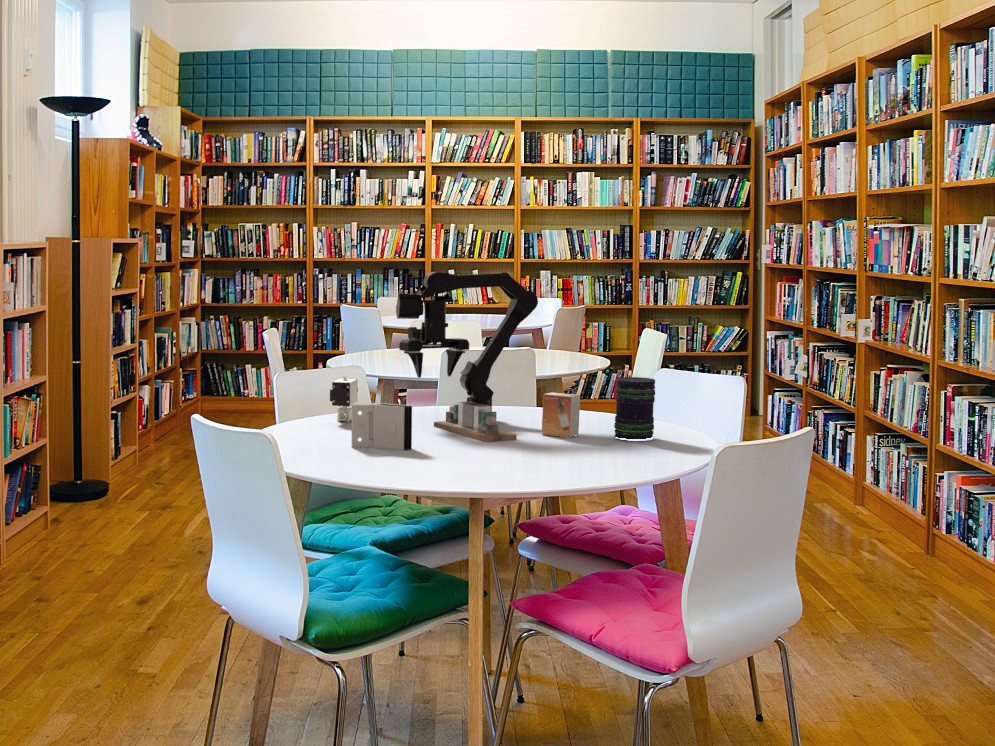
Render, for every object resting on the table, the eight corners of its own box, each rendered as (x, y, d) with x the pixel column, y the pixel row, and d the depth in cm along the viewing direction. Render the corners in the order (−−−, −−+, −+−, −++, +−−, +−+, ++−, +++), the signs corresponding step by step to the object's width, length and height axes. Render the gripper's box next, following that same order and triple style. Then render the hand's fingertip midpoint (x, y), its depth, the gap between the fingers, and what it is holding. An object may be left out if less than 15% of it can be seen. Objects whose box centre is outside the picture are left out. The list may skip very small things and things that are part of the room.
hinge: (350, 448, 247) (350, 404, 246) (357, 444, 252) (357, 401, 251) (408, 450, 245) (409, 407, 244) (414, 447, 250) (415, 404, 249)
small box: (541, 435, 270) (542, 394, 269) (550, 432, 275) (551, 391, 274) (570, 438, 266) (571, 396, 265) (579, 435, 271) (580, 394, 270)
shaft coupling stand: (463, 424, 285) (463, 400, 284) (516, 439, 263) (517, 413, 262) (433, 426, 280) (434, 402, 280) (485, 441, 258) (485, 416, 258)
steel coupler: (491, 429, 268) (491, 406, 268) (477, 431, 266) (477, 407, 266) (470, 424, 277) (471, 401, 276) (457, 425, 275) (457, 402, 274)
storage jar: (652, 442, 262) (654, 382, 260) (612, 440, 264) (614, 380, 262) (654, 436, 272) (656, 378, 270) (615, 434, 274) (617, 376, 272)
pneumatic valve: (358, 418, 292) (358, 374, 291) (348, 424, 281) (348, 379, 279) (338, 417, 293) (338, 373, 291) (327, 423, 281) (327, 378, 280)
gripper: (450, 316, 298) (449, 372, 300) (390, 317, 288) (389, 375, 290) (470, 319, 289) (469, 376, 291) (409, 320, 279) (408, 379, 281)
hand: (434, 376), depth 288 cm, fingers open, 9 cm apart
